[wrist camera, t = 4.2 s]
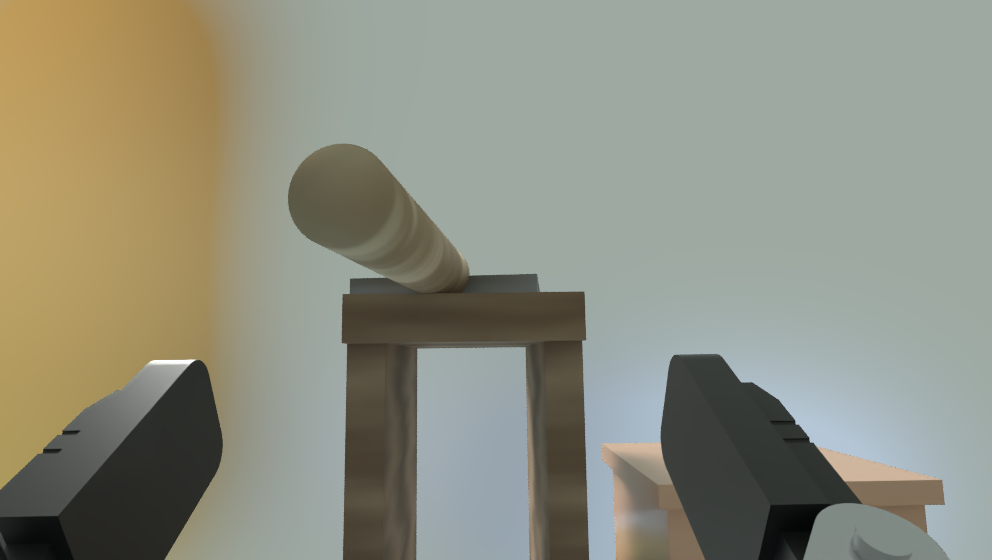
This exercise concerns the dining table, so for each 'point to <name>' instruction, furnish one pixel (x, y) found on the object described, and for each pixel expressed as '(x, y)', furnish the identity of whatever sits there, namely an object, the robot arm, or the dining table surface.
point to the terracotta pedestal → (666, 529)
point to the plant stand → (393, 410)
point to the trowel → (382, 228)
